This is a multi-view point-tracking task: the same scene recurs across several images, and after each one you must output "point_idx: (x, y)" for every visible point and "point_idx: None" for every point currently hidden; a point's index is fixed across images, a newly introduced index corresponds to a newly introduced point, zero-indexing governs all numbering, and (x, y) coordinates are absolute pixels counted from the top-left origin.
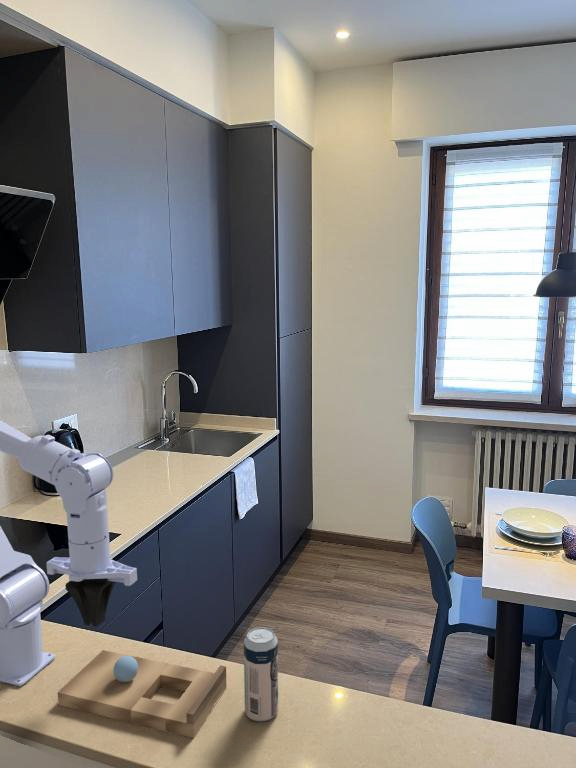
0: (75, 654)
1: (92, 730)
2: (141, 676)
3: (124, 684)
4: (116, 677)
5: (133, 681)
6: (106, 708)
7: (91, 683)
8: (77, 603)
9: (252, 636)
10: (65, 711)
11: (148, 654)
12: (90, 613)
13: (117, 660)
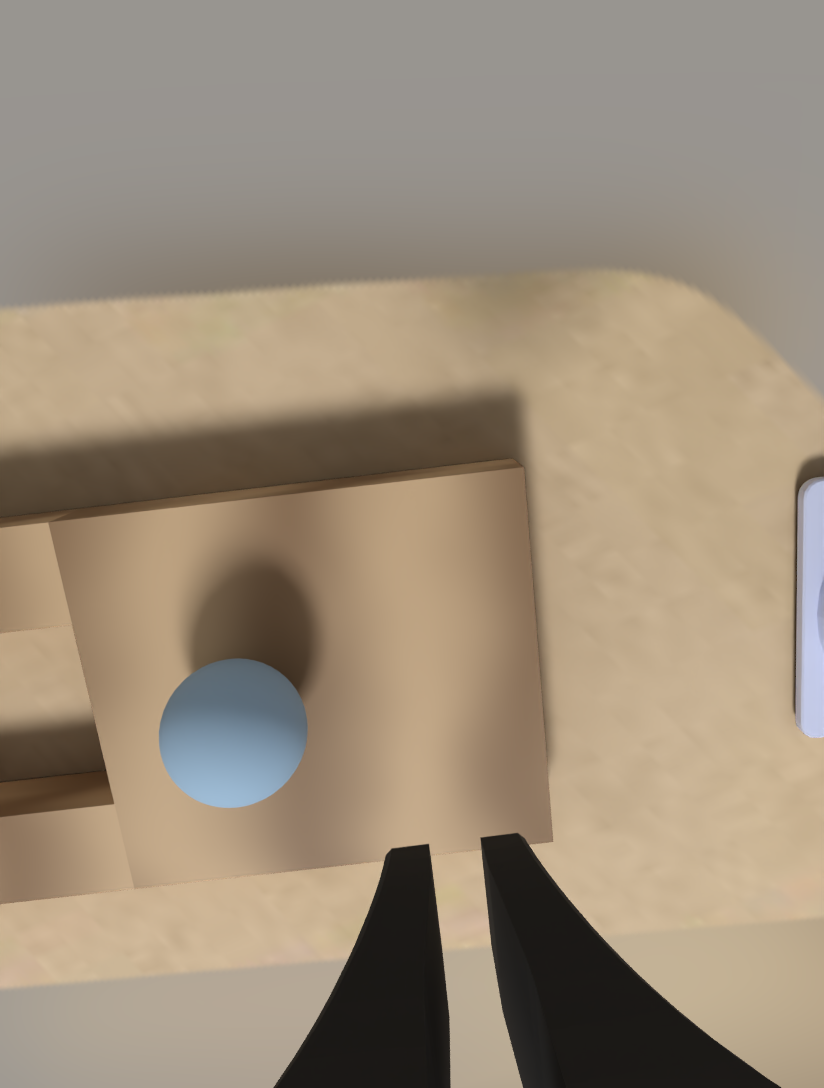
0: (716, 788)
1: (216, 388)
2: None
3: None
4: (248, 660)
5: None
6: (208, 499)
7: (402, 601)
8: (624, 988)
9: None
10: (443, 437)
11: None
12: (504, 952)
13: (272, 742)
